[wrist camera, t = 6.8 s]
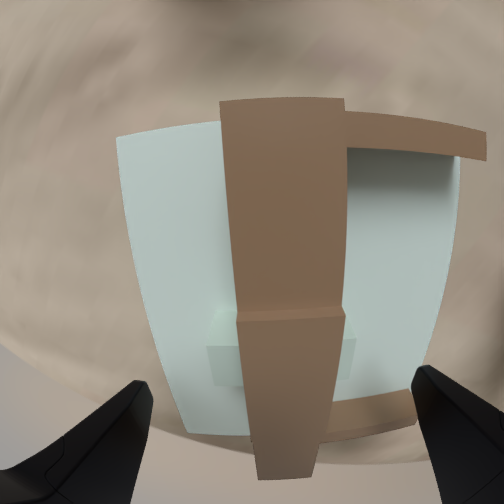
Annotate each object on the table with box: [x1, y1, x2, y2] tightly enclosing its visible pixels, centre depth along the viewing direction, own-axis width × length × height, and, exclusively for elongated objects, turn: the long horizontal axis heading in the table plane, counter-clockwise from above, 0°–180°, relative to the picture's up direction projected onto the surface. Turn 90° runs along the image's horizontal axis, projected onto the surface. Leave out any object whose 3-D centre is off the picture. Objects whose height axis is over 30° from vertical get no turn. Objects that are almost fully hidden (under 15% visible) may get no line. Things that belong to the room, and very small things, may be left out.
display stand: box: [116, 121, 460, 436], centre depth 11 cm, size 13×16×4 cm
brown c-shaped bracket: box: [219, 97, 486, 480], centre depth 9 cm, size 8×14×4 cm, turn 4°
